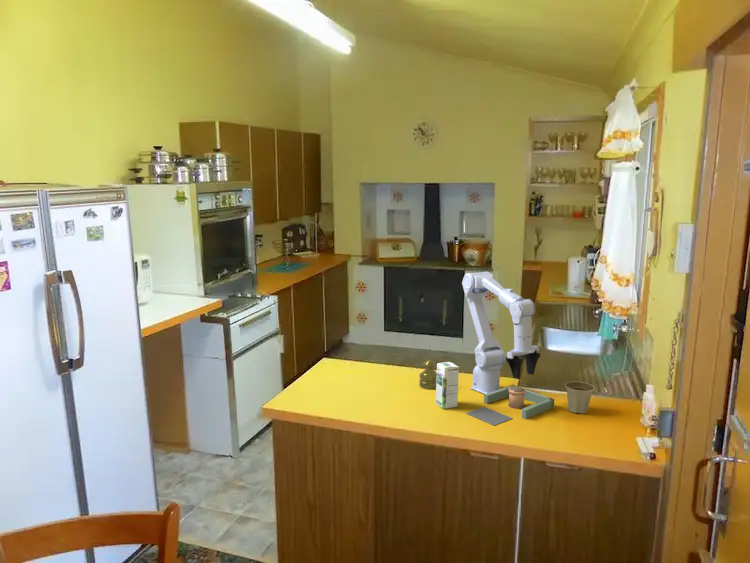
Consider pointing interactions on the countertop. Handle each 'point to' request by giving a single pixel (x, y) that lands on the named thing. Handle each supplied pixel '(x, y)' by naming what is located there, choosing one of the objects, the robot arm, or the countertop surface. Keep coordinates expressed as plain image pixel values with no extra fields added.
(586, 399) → the flower pot
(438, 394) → the syrup box
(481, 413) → the rubber mat
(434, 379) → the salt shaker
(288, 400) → the countertop surface
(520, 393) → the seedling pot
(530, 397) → the green u-shaped frame
